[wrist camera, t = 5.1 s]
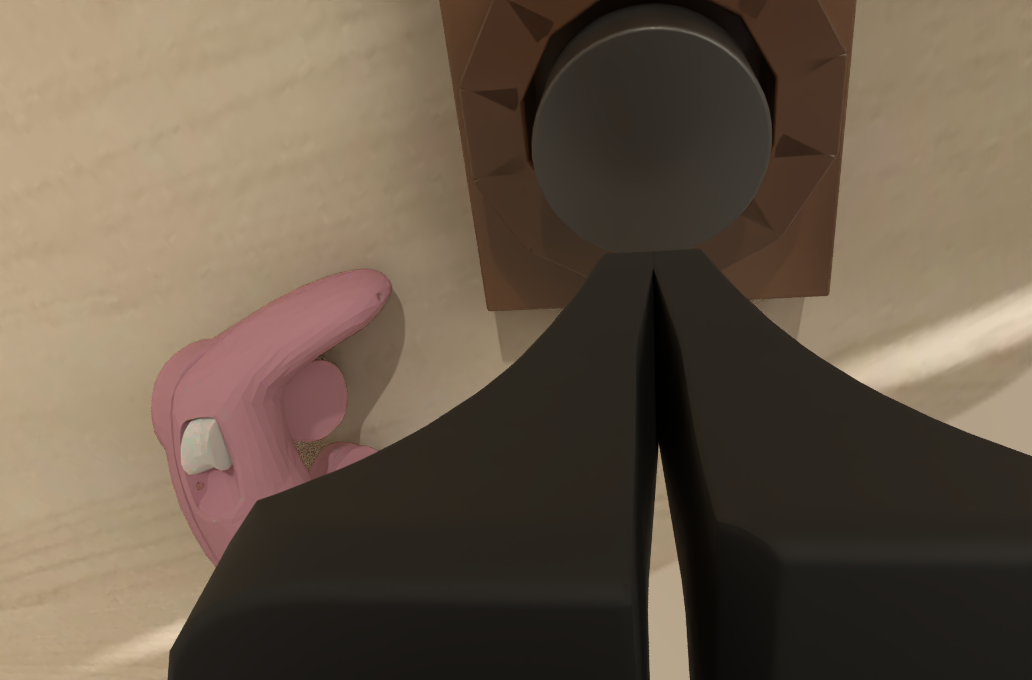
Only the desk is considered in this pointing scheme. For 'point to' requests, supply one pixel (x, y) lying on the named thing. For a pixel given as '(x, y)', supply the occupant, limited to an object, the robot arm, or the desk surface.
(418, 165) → the desk surface
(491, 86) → the brown button base
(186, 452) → the video game controller
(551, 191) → the button
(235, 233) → the desk surface
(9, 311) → the desk surface
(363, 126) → the desk surface
